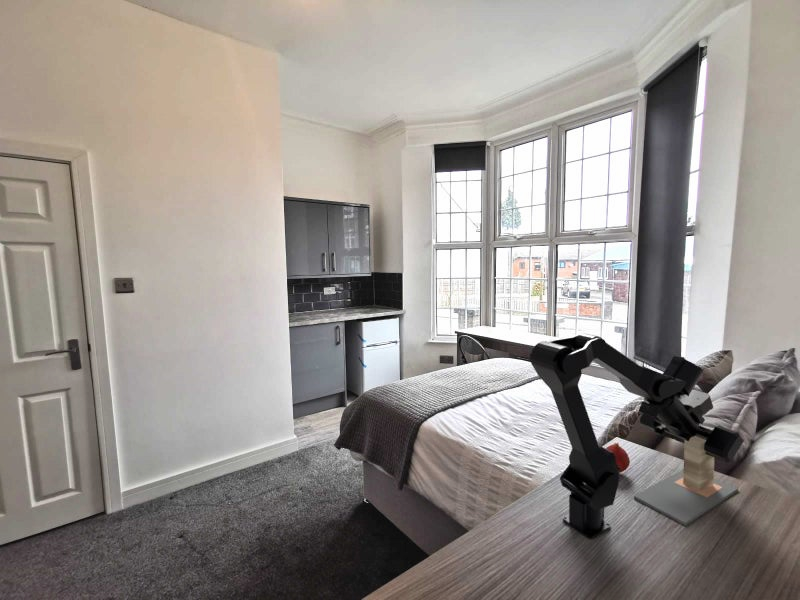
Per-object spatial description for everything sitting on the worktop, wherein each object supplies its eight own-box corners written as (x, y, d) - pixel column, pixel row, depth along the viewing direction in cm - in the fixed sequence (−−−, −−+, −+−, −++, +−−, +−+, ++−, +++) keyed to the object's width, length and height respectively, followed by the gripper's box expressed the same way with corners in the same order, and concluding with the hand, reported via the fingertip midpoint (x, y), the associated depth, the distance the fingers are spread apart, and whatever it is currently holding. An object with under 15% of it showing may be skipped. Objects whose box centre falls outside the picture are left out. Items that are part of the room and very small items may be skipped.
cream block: (698, 491, 82) (700, 435, 81) (683, 483, 85) (684, 429, 84) (713, 486, 84) (715, 431, 83) (698, 478, 87) (700, 425, 86)
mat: (685, 525, 73) (685, 522, 73) (633, 498, 82) (633, 495, 82) (738, 490, 83) (738, 487, 83) (687, 469, 92) (687, 467, 92)
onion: (597, 470, 93) (597, 440, 92) (612, 464, 96) (612, 434, 95) (619, 482, 88) (619, 450, 87) (634, 475, 90) (635, 444, 90)
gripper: (739, 394, 72) (772, 438, 77) (649, 370, 90) (679, 407, 94) (710, 441, 71) (745, 482, 75) (623, 406, 88) (656, 442, 93)
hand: (703, 449), depth 84 cm, fingers open, 8 cm apart
